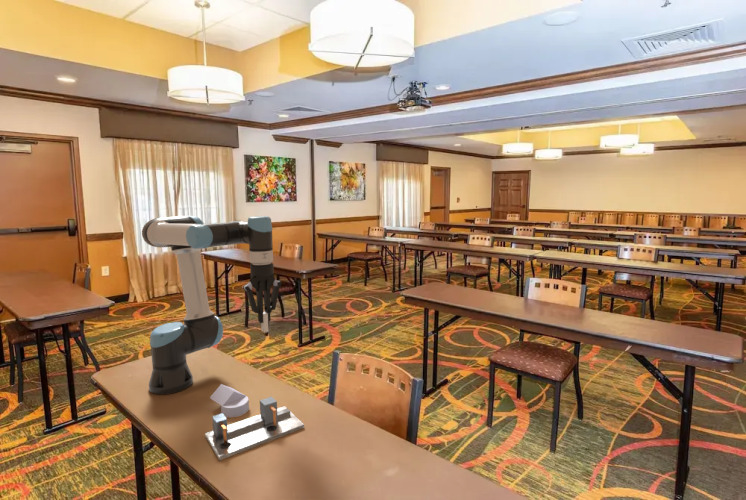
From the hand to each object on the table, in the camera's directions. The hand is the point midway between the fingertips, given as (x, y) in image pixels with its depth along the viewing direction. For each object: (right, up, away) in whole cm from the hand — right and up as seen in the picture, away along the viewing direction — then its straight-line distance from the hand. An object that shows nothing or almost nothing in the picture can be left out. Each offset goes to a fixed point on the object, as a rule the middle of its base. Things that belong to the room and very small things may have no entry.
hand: (264, 331), depth 140 cm
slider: (+5, -27, -11) cm, 29 cm away
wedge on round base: (-12, -27, +1) cm, 29 cm away
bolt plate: (+1, -29, -13) cm, 32 cm away
